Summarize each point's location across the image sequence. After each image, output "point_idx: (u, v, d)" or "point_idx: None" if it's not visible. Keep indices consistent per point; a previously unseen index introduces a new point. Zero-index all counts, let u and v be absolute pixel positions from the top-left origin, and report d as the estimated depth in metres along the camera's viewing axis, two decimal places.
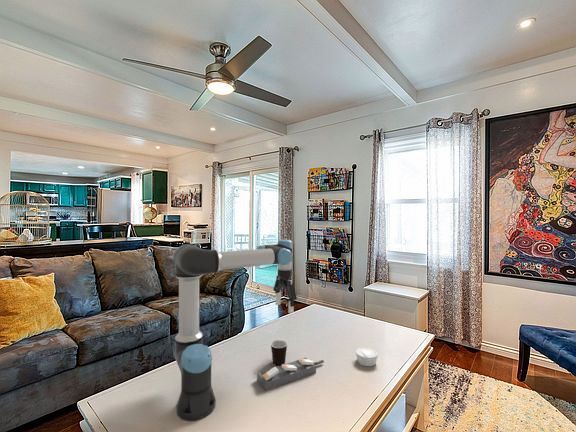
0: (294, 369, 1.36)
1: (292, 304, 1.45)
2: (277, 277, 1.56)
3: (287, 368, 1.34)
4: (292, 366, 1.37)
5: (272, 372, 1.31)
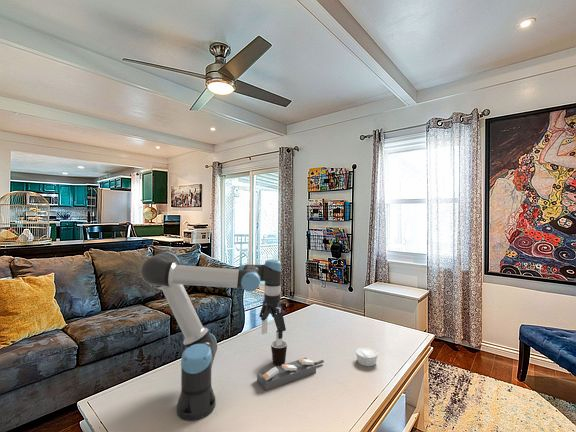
0: (294, 369, 1.36)
1: (280, 336, 1.25)
2: (264, 302, 1.36)
3: (287, 368, 1.34)
4: (292, 366, 1.37)
5: (272, 372, 1.31)
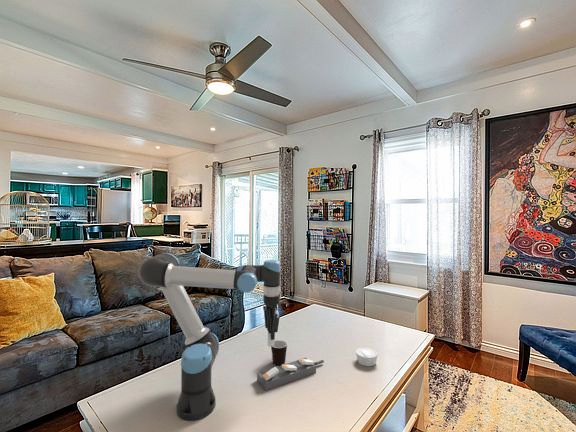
0: (294, 369, 1.36)
1: (272, 337, 1.29)
2: (264, 307, 1.34)
3: (287, 368, 1.34)
4: (292, 366, 1.37)
5: (272, 372, 1.31)
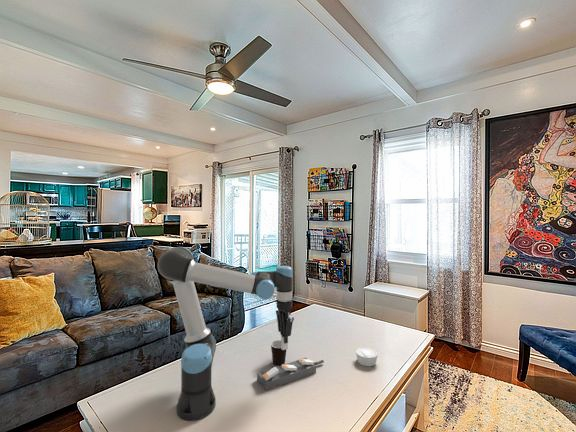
0: (294, 369, 1.36)
1: (286, 340, 1.33)
2: (276, 311, 1.38)
3: (287, 368, 1.34)
4: (292, 366, 1.37)
5: (272, 372, 1.31)
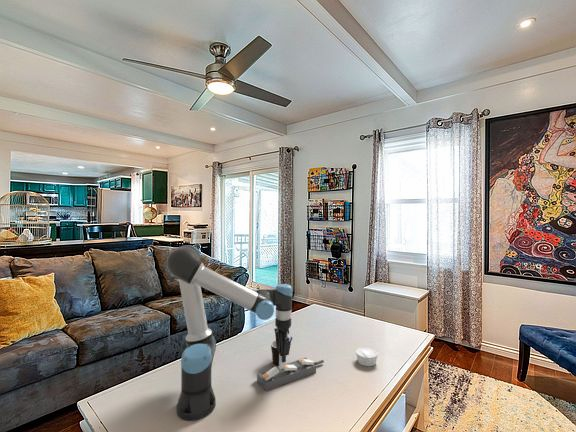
0: (294, 369, 1.36)
1: (284, 360, 1.33)
2: (275, 330, 1.38)
3: (287, 368, 1.34)
4: (292, 366, 1.37)
5: (272, 372, 1.31)
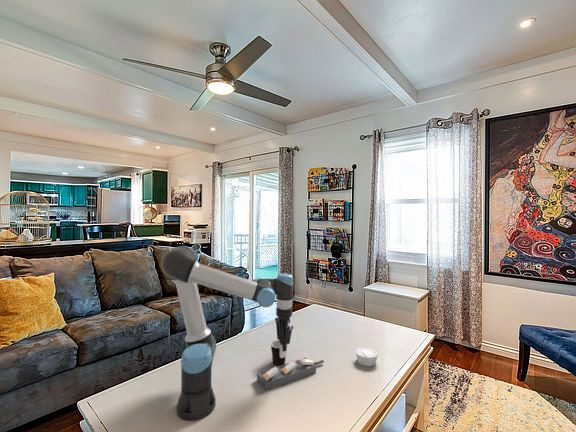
0: (294, 366, 1.36)
1: (284, 349, 1.33)
2: (276, 319, 1.38)
3: (287, 371, 1.34)
4: (291, 364, 1.37)
5: (272, 372, 1.31)
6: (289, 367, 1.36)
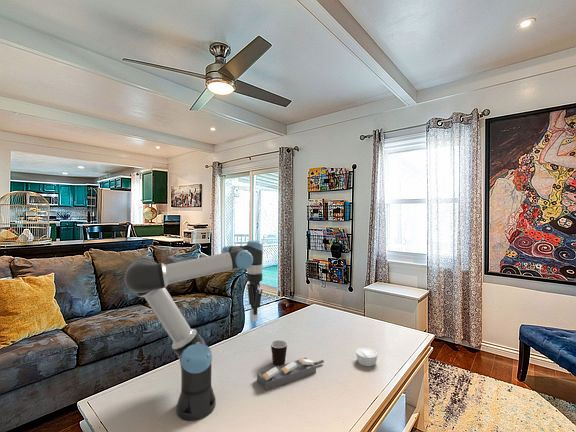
0: (294, 367, 1.36)
1: (255, 312, 1.38)
2: (248, 285, 1.43)
3: (287, 371, 1.34)
4: (291, 364, 1.37)
5: (272, 372, 1.31)
6: (289, 367, 1.36)
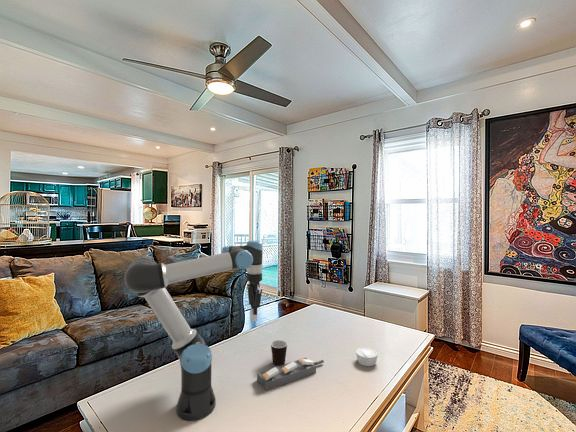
0: (294, 367, 1.36)
1: (255, 312, 1.38)
2: (247, 285, 1.43)
3: (287, 370, 1.34)
4: (292, 364, 1.37)
5: (272, 372, 1.31)
6: (289, 367, 1.36)
